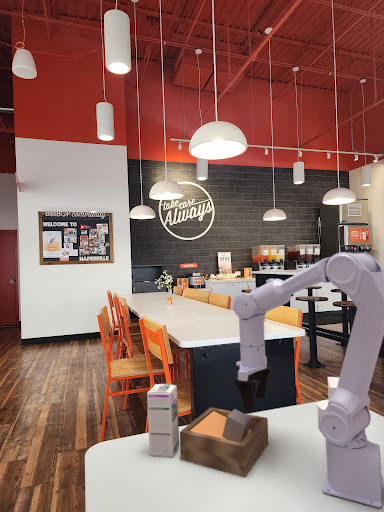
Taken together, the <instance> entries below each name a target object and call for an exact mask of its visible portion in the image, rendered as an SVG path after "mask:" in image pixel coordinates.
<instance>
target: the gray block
mask: <svg viewBox="0 0 384 512" xmlns="http://www.w3.org/2000/svg"><path fill="white" fill-rule="evenodd" d="M246 414H247V413H244V412H243V411H240V410H238V409H236V408H234V409H233V410H232V412H231V413H230V414H229V415H228V416H227V418H226V422H225V427H224V431H223V435H222V437H224V438H226V439H227V440H230V441H235V442H239V443H241V442H242V441H243V440H244V438H245V437H246V436H247V435H248V432H249V428H250V424H251V420H252V417H250V416H248V415H246Z"/></svg>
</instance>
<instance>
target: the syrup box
mask: <svg viewBox="0 0 384 512" xmlns="http://www.w3.org/2000/svg"><path fill="white" fill-rule="evenodd" d="M177 389H178V387H177V385H176V384H171V383H160V384H159V383H158V384H157V383H155V384H154V386H153V387H151V388H150V389H149V391H147V392H146V396H147V399H146V400H147V401H146V403H147V421H148V443H149V445H148V446H149V448H148V449H149V455H150V456H153V457H159V458H161V457H162V458H165V457H166V458H174V457H175V454H176V452H177V450H178V448H179V447H180V428H179V427H180V426H179V408H178V390H177Z"/></svg>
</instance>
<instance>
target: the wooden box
mask: <svg viewBox="0 0 384 512" xmlns="http://www.w3.org/2000/svg"><path fill="white" fill-rule="evenodd" d="M213 411H215V412H217V413H219V414H221V415H223V416H225V417H227V416H228V415H229V414H230V413H231V412H232V411H233V410H232V411H231V410H228V409H227V410H226V409H221V408H216V407H209V408H207V409H206V410H205V411H204V412H203V413H202V414H200V415H199V416H198V417H196V418H195V419H194V420H193V421H191V422H190V423H189V424H188V425H186V426H185V427H184V428H182V429H181V430H179V447H180V449H179V451H180V452H179V453H180V460H181V461H185V462H188V463H193V464H196V465H200V466H203V467H206V468H210V469H215V470H218V471H221V472H225V473H229V474H232V475H235V476H238V477H242V478H246V477H247V475H248V474H249V473H250V471H251V470H252V468H253V467H254V466H255V464H256V462H257V461H258V459H259V458H260V457H261V455H262V454H263V453H264V451H265V450H266V448H267V447H268V445H269V442H270V441H269V428H268V427H269V422H268V421H269V420H268V419H269V418H268V417H264V416H260V415H253V414H249V413H245V414H246V415H248V416H250V417H252V420H251V424H250V428H249V429H250V430H251V431H250V432H249V434H248V435H247V436H246V437H245V438H244V440H243V441H242V442H241V443H239V442H235V441H230V440H226V439H222V438H217V437H213V436H209V435H204V434H200V433H196V432H191V431H190V430H191V429H192V428H194V427H195V426H196V425H197V424H199V423H200V422H201V421H202V420H203V419H205V418H206V417H207V416H208V415H209V414H211V413H212V412H213Z"/></svg>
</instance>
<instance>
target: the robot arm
mask: <svg viewBox="0 0 384 512" xmlns="http://www.w3.org/2000/svg"><path fill="white" fill-rule="evenodd" d="M265 282H266V283H264V284H263V285H260V286H259V287H253V288H251V291H250V292H249V293H247V292H242V293H239V294H238V295H237V296H236V297H235V298H234V301H233V306H232V307H233V312H234V313H235V315H236V316H237V317H238V323H239V324H238V325H239V344H240V345H239V346H240V347H239V348H240V360H239V361H236V362H235V364H236V366H237V367H239V370H238V371H237V375H235V376H234V377H233V383H234V385H235V386H236V388H237V390H238V393H239V395H240V398H241V402H242V405H243V408H244V410H245V411H252V412H254V411H255V409H256V408H255V407H256V400H257V399H260V400H261V399H262V400H264V399H265V397H266V394H267V387H268V382H269V378H270V375H271V374H272V371H273V367H271V366H267V365H268V361H267V360H268V359H267V356H266V342H265V341H266V340H265V339H266V338H265V322H266V321H265V319H266V318H265V317H266V314H267V313H268V312H270V311H272V310H275V309H277V308H279V307H281V306H283V305H286V304H287V303H289V302H290V300H291V297H292V295H293V294H295V293H297V292H301V291H302V290H306V289H308V288H311V287H312V286H315V285H318V284H320V283H323V284H324V283H325V284H326V283H331V284H333V286H335V287H336V288H337V289H339V290H340V291H341V292H343V293H344V294H345V295H347V296H348V297H349V299H350V300H351V301H352V304H354V306H355V307H356V312H355V316H354V320H353V324H352V326H351V327H352V328H351V330H350V336H349V340H348V343H347V347H346V351H345V356H344V359H343V362H342V366H341V370H340V375H339V381H338V385H337V388H336V390H335V391H334V393H333V394H332V396H331V398H330V399H329V398H328V400H329V401H328V405H327V407H326V409H325V410H324V411H322V412H321V414H320V416H319V419H318V418H317V423H318V424H319V428H320V430H319V432H320V433H321V434H322V436H323V437H324V438H325V449H326V450H325V451H326V452H325V454H326V455H325V456H326V468H327V469H326V470H327V471H326V472H327V473H326V476H325V477H326V478H325V480H324V483H323V486H322V487H323V488H322V492H323V493H324V494H327V495H332V496H335V497H339V498H342V499H346V500H350V501H354V502H357V503H361V504H364V505H367V506H372V507H375V508H378V509H379V508H381V507H382V500H383V499H382V496H383V490H384V477H382V459H381V458H382V457H381V448H380V444H378V443H375V442H371V441H369V440H368V437H367V433H366V429H367V428H368V427H369V426H370V424H371V421H372V415H371V412H370V403H371V398H370V396H369V390H370V386H371V383H372V380H373V375H374V371H375V369H376V368H375V367H376V365H377V361H378V357H379V353H380V349H381V347H382V343H383V339H384V268H383V266H382V265H381V264H380V263H379V262H378V261H377V259H376V258H374V257H373V256H372V255H370V254H368V253H365V252H359V253H349V252H338V253H335V254H333V255H332V256H330V257H326V258H322V259H320V260H319V261H316V262H315V263H314V264H312V265H310V266H308V267H306V268H304V269H303V270H301V271H298V272H297V273H296V274H294V275H292V276H291V277H288V278H287V279H284V280H283V279H280V278H269V279H266V280H265ZM318 424H317V425H318ZM319 428H318V429H319Z"/></svg>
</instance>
